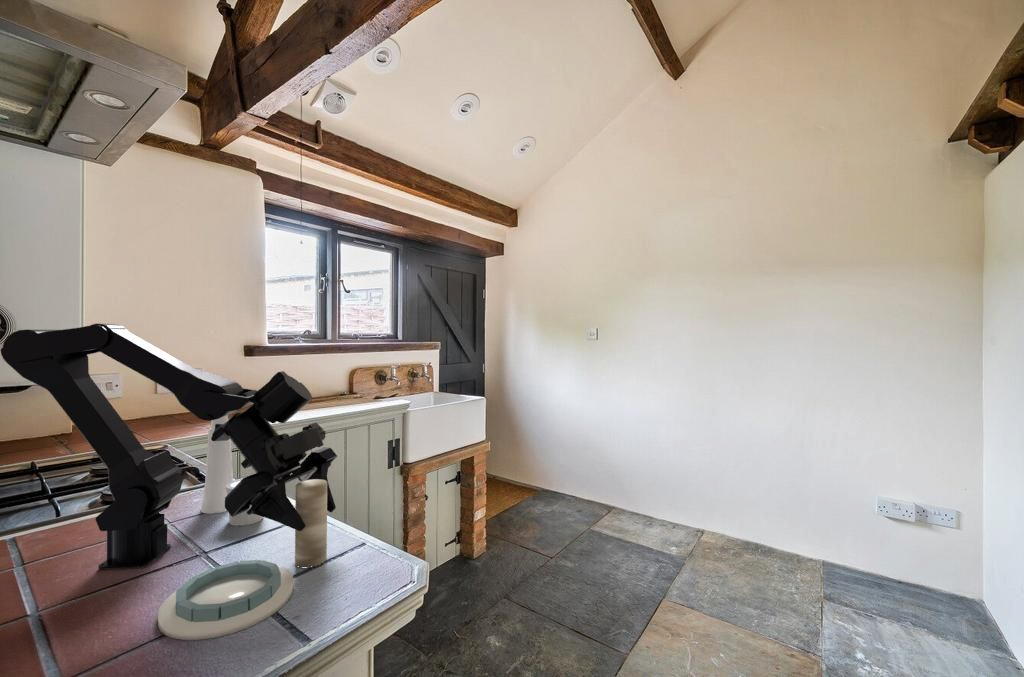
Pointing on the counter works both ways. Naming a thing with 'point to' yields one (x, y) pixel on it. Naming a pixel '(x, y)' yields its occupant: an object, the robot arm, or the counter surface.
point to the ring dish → (225, 600)
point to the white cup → (242, 517)
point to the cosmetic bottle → (217, 472)
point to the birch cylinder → (311, 523)
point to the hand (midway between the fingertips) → (319, 519)
